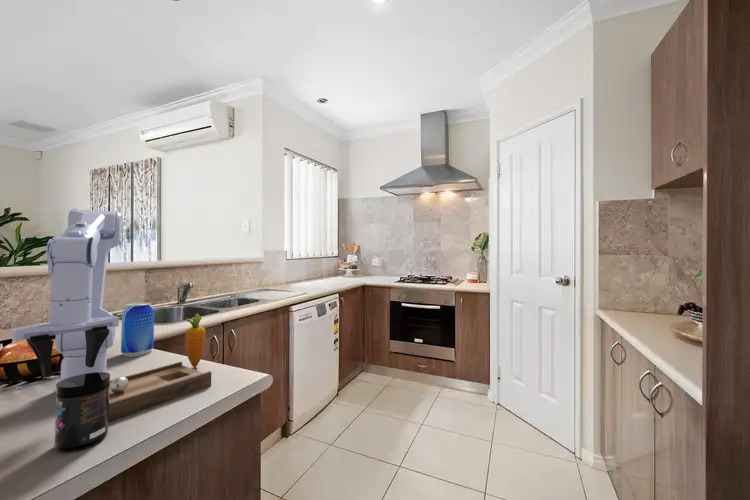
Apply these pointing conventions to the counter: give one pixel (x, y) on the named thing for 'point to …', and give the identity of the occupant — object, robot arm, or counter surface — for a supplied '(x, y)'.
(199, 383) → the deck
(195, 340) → the carrot
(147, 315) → the beer can
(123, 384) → the ball
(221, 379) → the counter surface
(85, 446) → the supplement container
